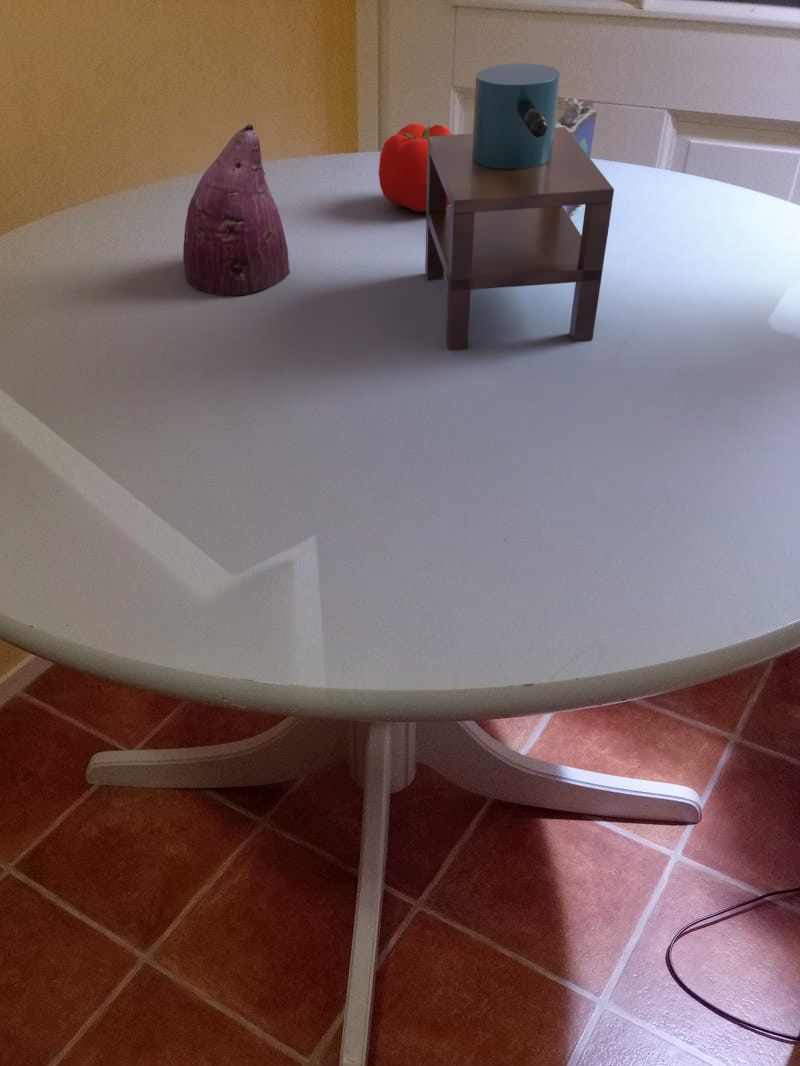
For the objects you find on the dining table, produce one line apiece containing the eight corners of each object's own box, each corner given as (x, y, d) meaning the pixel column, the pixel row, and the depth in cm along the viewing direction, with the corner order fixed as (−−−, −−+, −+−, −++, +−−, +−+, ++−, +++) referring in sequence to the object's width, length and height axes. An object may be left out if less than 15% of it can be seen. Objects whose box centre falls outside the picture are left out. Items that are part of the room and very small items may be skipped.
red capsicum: (420, 227, 101) (421, 149, 96) (363, 206, 106) (362, 132, 101) (483, 203, 105) (487, 127, 100) (426, 184, 110) (427, 111, 105)
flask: (561, 229, 99) (574, 112, 91) (533, 225, 100) (544, 110, 93) (588, 199, 104) (602, 87, 97) (562, 196, 106) (574, 85, 98)
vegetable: (297, 288, 99) (331, 130, 90) (263, 319, 91) (297, 149, 82) (202, 255, 100) (226, 95, 91) (161, 283, 92) (182, 111, 83)
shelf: (551, 263, 93) (565, 126, 84) (592, 340, 81) (614, 188, 73) (425, 272, 93) (427, 136, 84) (448, 350, 81) (454, 200, 73)
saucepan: (542, 142, 82) (550, 60, 78) (578, 193, 72) (588, 103, 68) (466, 147, 82) (470, 66, 78) (492, 199, 73) (497, 110, 68)
